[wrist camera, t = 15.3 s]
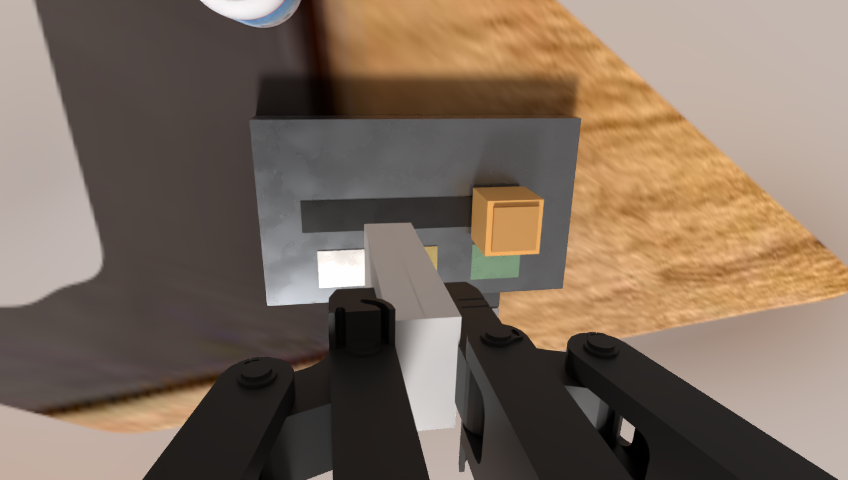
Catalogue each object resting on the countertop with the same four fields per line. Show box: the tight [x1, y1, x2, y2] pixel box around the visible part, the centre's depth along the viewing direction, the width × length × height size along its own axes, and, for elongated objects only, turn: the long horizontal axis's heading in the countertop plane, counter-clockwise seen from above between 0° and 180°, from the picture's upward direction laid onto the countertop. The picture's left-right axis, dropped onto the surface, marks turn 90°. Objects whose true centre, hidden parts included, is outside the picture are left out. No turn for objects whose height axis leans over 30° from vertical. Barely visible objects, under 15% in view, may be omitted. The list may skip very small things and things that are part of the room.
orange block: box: [471, 186, 544, 256], centre depth 37 cm, size 4×4×4 cm
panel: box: [249, 114, 581, 306], centre depth 40 cm, size 24×14×3 cm, turn 89°
